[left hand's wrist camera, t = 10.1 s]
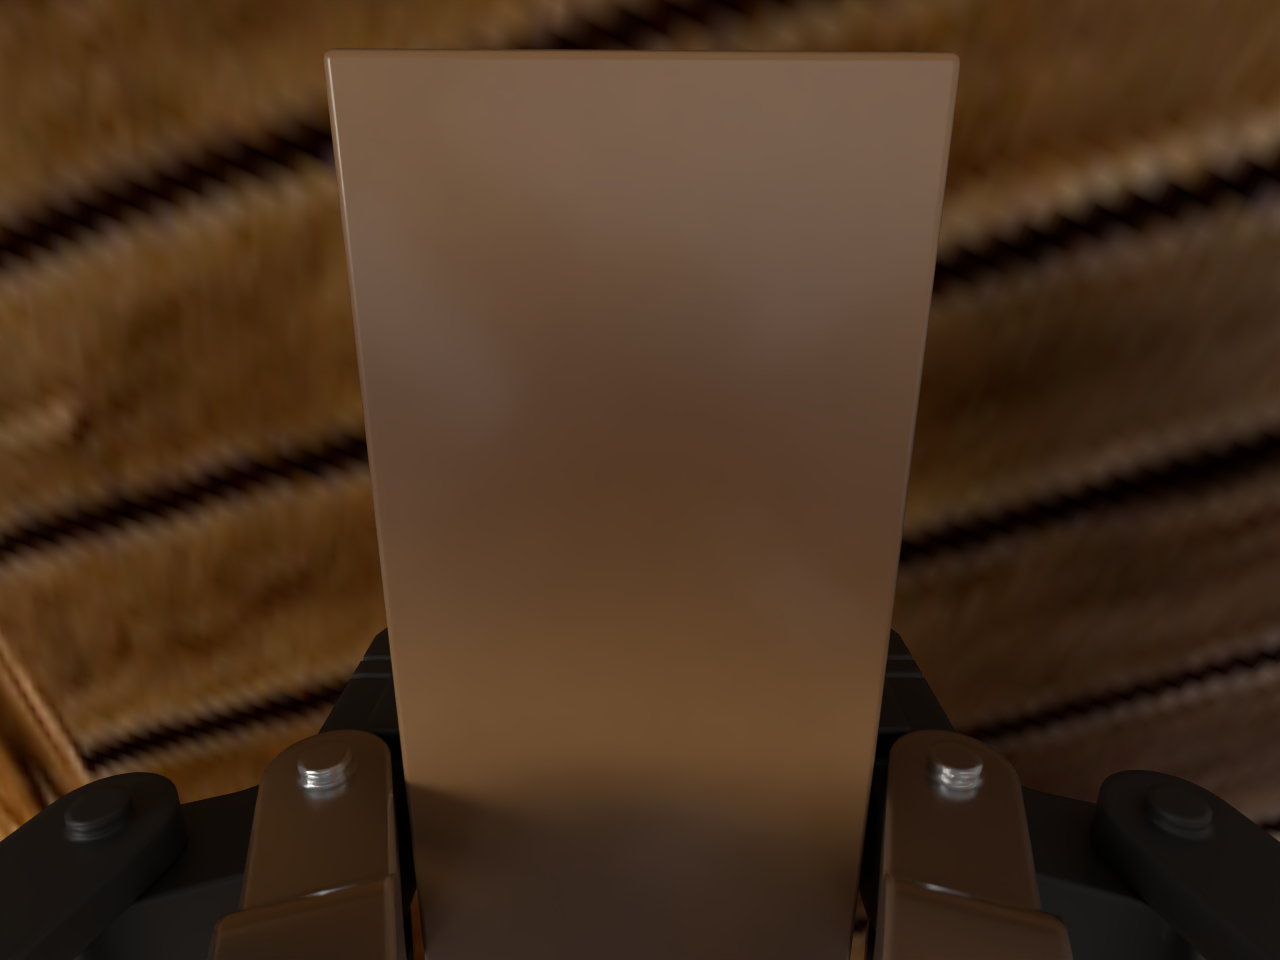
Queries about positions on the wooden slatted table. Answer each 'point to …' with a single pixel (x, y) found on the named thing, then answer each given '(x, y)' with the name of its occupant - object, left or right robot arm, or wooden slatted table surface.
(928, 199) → the post
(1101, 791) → the left robot arm
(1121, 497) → the wooden slatted table surface
